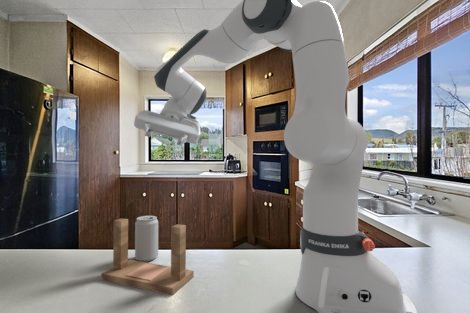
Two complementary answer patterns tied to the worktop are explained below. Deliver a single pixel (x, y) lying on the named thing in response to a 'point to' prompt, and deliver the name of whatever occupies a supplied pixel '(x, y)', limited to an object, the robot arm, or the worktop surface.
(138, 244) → the beverage can
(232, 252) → the worktop surface
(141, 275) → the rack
